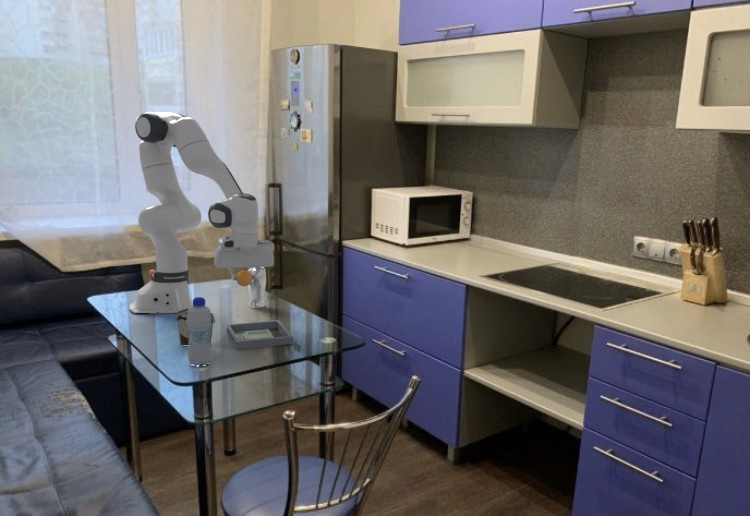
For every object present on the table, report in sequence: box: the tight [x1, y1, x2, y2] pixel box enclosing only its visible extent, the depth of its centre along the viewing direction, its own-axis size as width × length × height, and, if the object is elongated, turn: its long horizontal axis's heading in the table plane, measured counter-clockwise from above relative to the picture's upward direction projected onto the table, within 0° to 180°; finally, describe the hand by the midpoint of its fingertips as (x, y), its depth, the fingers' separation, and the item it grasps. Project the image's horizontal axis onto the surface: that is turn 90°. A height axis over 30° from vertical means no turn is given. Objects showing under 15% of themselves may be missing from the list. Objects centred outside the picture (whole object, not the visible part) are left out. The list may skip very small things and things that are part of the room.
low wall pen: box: [225, 319, 294, 351], centre depth 192 cm, size 18×18×2 cm
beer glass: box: [247, 267, 267, 309], centre depth 226 cm, size 7×7×15 cm
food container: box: [175, 310, 216, 348], centre depth 184 cm, size 12×6×10 cm, turn 84°
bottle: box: [187, 296, 212, 366], centre depth 166 cm, size 7×7×20 cm
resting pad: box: [242, 329, 274, 340], centre depth 193 cm, size 9×9×1 cm
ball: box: [235, 270, 252, 287], centre depth 205 cm, size 6×6×6 cm
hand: (244, 279), depth 205 cm, fingers closed on ball, 5 cm apart
